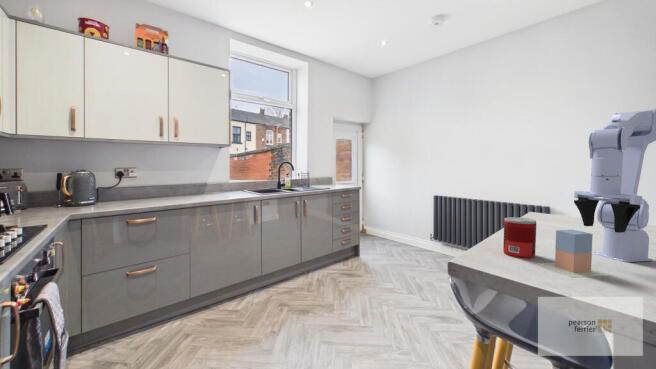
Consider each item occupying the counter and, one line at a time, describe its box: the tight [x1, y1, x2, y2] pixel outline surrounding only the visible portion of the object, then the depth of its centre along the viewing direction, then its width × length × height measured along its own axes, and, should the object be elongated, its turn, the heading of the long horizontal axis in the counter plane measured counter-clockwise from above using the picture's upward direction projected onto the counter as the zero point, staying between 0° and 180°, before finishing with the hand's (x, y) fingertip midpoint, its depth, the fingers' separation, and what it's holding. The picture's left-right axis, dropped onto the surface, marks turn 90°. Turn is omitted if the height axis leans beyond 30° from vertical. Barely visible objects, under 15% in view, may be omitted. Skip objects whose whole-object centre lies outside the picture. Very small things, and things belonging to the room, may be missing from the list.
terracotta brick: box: [554, 248, 593, 273], centre depth 74 cm, size 5×5×5 cm
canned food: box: [502, 216, 537, 259], centre depth 86 cm, size 8×8×11 cm
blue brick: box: [555, 229, 593, 254], centre depth 74 cm, size 5×5×5 cm
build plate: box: [536, 262, 612, 278], centre depth 74 cm, size 11×10×1 cm
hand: (603, 229), depth 74 cm, fingers open, 7 cm apart
